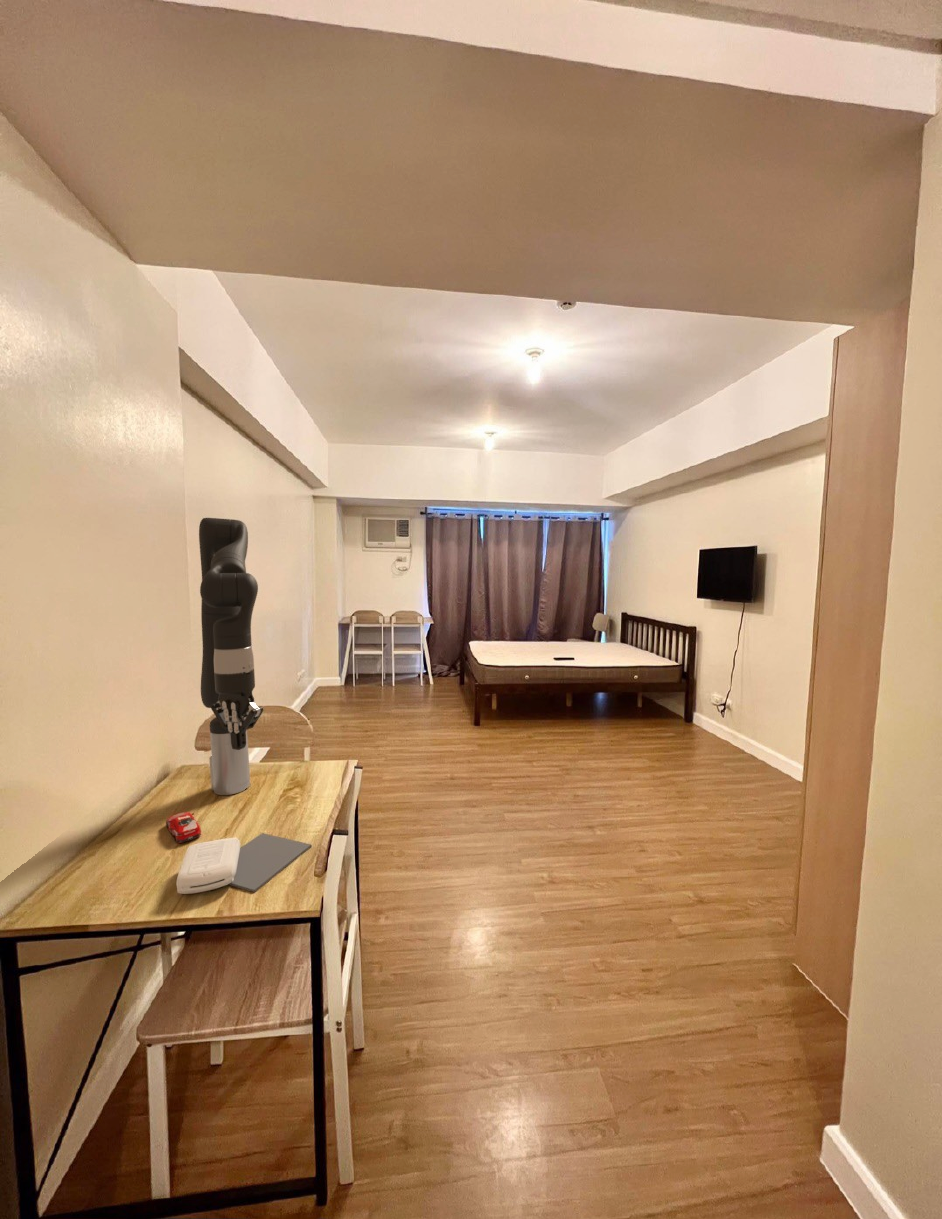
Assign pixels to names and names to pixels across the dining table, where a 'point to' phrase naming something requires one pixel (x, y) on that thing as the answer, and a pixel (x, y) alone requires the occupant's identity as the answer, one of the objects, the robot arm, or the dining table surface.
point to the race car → (183, 827)
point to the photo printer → (208, 866)
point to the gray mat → (265, 860)
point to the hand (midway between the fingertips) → (239, 748)
